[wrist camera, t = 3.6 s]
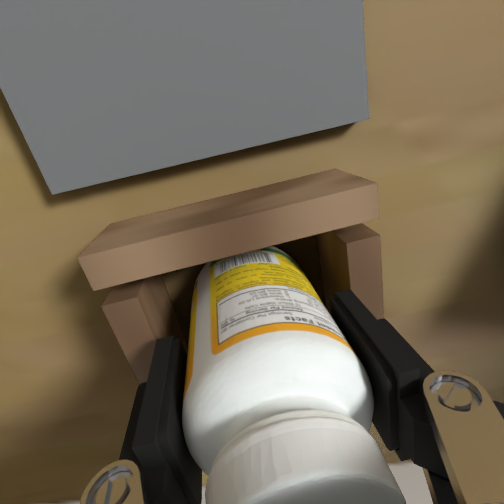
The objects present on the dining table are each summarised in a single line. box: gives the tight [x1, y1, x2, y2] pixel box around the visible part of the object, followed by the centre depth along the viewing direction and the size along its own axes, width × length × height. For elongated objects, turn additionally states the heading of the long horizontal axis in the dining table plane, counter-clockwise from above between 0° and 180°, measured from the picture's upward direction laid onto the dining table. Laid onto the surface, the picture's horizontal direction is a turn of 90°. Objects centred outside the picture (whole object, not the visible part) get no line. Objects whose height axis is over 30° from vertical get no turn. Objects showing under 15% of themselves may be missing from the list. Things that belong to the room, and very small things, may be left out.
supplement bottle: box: [182, 246, 406, 504], centre depth 10 cm, size 5×5×10 cm
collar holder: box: [77, 169, 384, 385], centre depth 13 cm, size 10×10×4 cm
